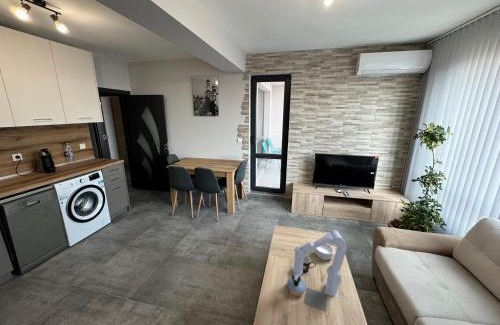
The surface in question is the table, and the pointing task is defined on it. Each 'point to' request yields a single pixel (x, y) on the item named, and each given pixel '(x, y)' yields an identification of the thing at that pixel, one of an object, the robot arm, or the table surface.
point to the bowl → (296, 293)
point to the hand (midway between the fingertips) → (297, 281)
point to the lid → (300, 288)
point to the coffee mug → (307, 264)
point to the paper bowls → (325, 252)
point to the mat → (316, 299)
